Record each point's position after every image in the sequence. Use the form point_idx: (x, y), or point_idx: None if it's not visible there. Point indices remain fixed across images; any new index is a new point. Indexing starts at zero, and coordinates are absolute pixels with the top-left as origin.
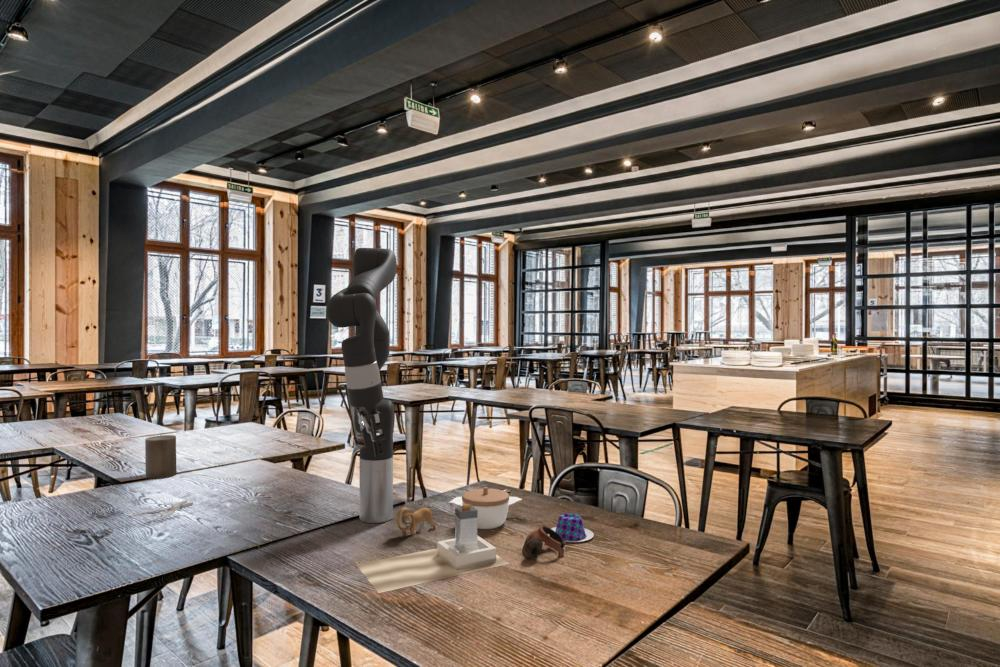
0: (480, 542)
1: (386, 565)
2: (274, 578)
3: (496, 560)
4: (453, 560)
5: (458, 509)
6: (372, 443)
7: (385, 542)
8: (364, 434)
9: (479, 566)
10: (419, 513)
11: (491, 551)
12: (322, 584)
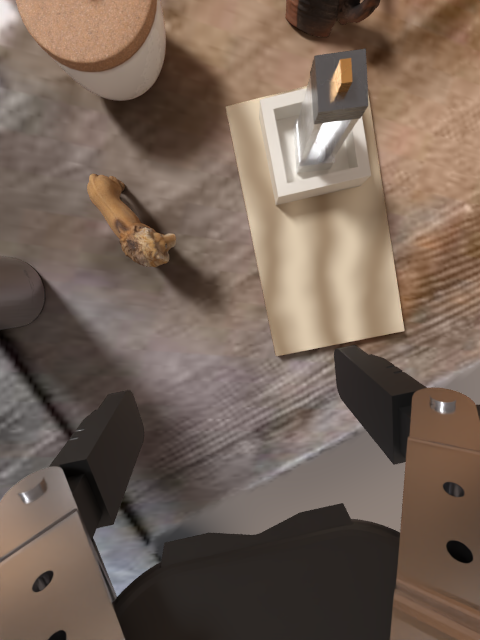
0: None
1: (297, 305)
2: (264, 472)
3: None
4: (355, 182)
5: (338, 106)
6: (130, 403)
7: (155, 290)
8: (116, 499)
9: None
10: (118, 206)
11: None
12: (310, 405)
